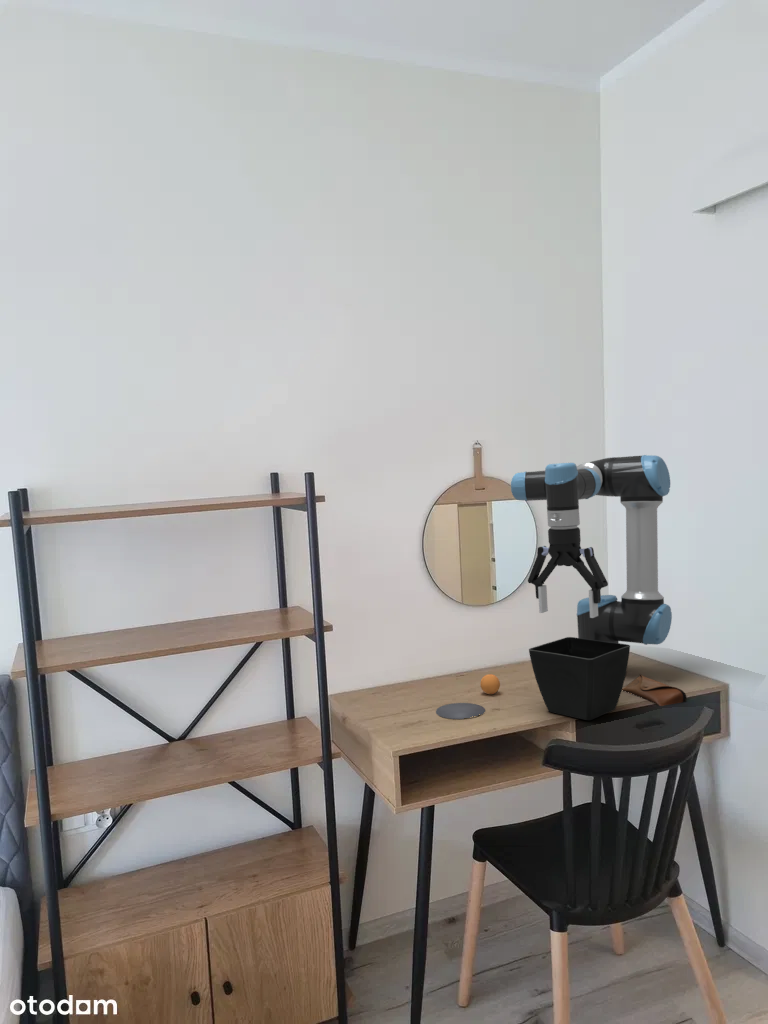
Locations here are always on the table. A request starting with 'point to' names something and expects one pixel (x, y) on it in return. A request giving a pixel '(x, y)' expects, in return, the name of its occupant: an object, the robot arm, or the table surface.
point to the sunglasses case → (655, 691)
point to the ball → (490, 684)
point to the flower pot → (580, 675)
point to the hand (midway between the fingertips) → (568, 614)
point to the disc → (460, 710)
